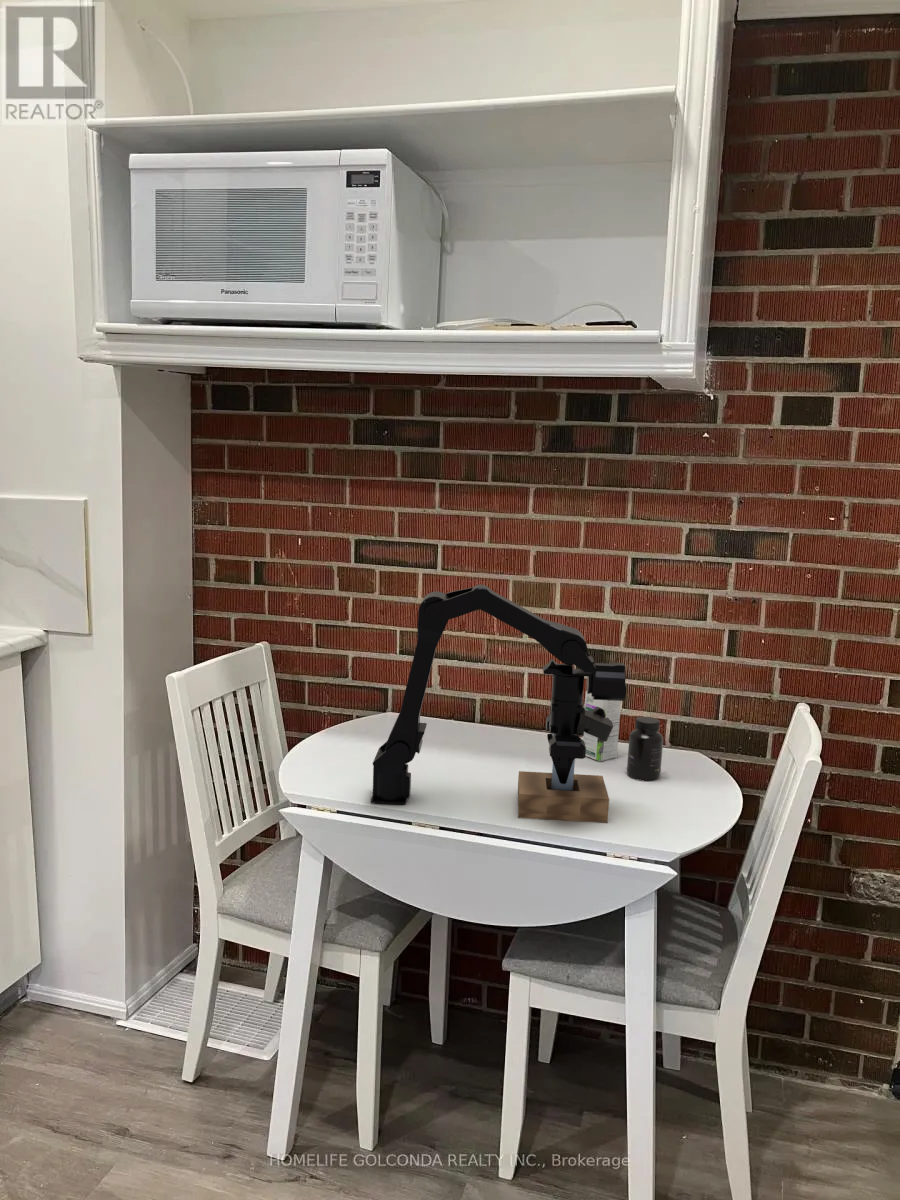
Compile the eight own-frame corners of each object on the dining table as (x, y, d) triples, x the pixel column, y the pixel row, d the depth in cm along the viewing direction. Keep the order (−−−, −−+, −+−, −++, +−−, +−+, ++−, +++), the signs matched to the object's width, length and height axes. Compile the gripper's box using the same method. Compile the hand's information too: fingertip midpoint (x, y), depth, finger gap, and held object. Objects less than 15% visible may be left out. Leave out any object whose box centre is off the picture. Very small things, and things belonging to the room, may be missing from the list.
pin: (551, 800, 174) (554, 748, 173) (550, 792, 178) (553, 741, 177) (573, 802, 174) (576, 749, 173) (571, 794, 178) (574, 742, 177)
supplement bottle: (619, 774, 195) (623, 718, 193) (638, 767, 200) (642, 712, 198) (648, 784, 191) (652, 726, 189) (666, 776, 195) (671, 720, 193)
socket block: (518, 817, 171) (519, 794, 170) (517, 793, 183) (518, 771, 182) (607, 822, 170) (609, 798, 170) (601, 798, 182) (602, 775, 181)
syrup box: (580, 754, 207) (584, 690, 205) (599, 750, 211) (603, 686, 208) (599, 762, 203) (603, 696, 200) (618, 757, 206) (622, 692, 204)
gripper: (617, 714, 164) (611, 800, 166) (606, 687, 182) (601, 765, 184) (552, 711, 164) (547, 797, 167) (548, 684, 182) (543, 761, 185)
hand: (562, 779), depth 176 cm, fingers closed on pin, 4 cm apart
